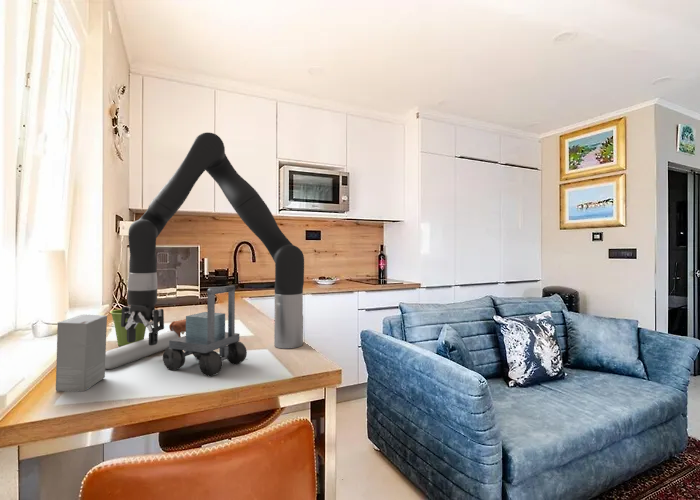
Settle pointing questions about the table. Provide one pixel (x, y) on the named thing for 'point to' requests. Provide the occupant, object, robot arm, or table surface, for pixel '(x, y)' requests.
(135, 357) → the tube
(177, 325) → the bull figurine
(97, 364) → the skincare box
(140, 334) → the plant pot
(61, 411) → the table surface
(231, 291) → the trolley
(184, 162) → the robot arm
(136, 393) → the table surface
